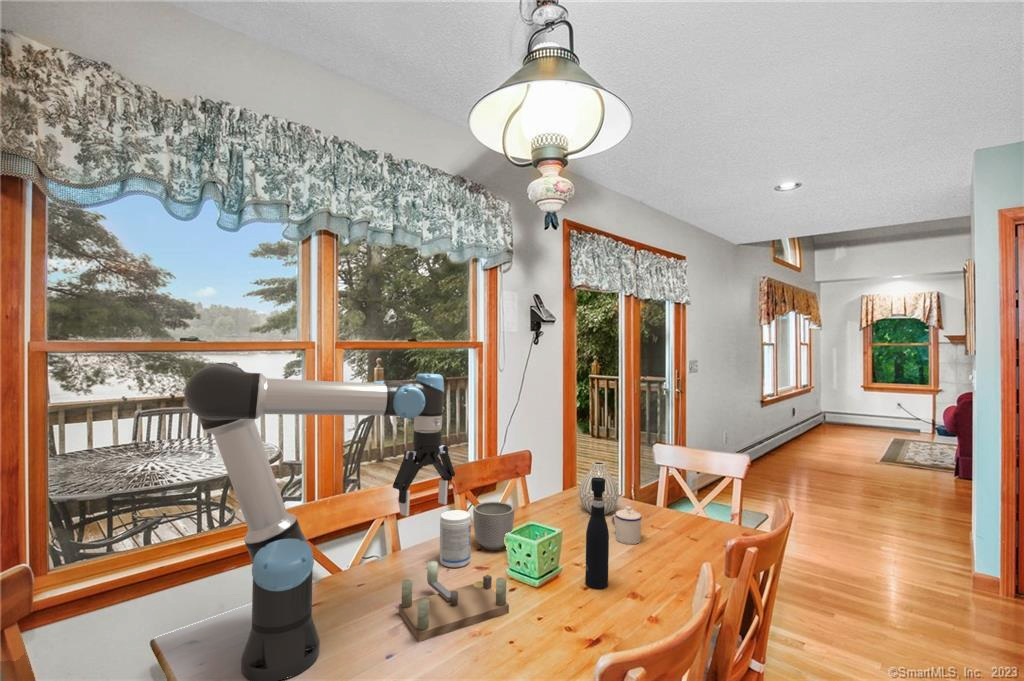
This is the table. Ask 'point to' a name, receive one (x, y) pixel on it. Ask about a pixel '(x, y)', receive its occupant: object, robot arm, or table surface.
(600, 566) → the wine bottle
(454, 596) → the wooden peg board
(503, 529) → the planter
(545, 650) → the table surface
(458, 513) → the supplement tub
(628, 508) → the teacup with lid
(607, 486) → the vase
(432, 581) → the hinged leg
